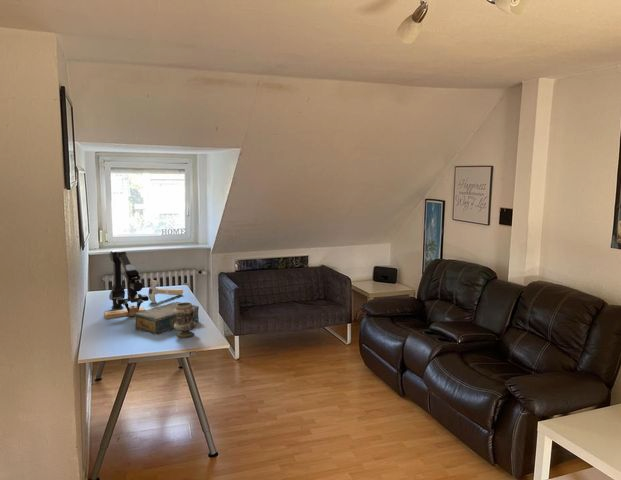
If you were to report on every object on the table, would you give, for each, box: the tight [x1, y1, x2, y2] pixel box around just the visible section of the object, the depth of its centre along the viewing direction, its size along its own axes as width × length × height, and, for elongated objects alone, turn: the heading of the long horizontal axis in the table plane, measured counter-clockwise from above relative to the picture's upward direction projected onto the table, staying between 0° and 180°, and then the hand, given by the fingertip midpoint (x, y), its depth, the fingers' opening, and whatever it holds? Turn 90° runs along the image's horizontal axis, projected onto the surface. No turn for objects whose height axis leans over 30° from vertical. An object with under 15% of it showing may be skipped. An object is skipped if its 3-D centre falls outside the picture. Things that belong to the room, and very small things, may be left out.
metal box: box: [134, 301, 200, 336], centre depth 292 cm, size 21×32×10 cm, turn 146°
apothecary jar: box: [173, 301, 197, 339], centre depth 272 cm, size 12×12×18 cm
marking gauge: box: [128, 304, 138, 317], centre depth 313 cm, size 10×5×6 cm, turn 31°
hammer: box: [147, 279, 184, 304], centre depth 355 cm, size 16×5×30 cm
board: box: [103, 306, 146, 319], centre depth 315 cm, size 7×24×3 cm, turn 122°
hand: (133, 312), depth 311 cm, fingers closed on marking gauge, 5 cm apart
